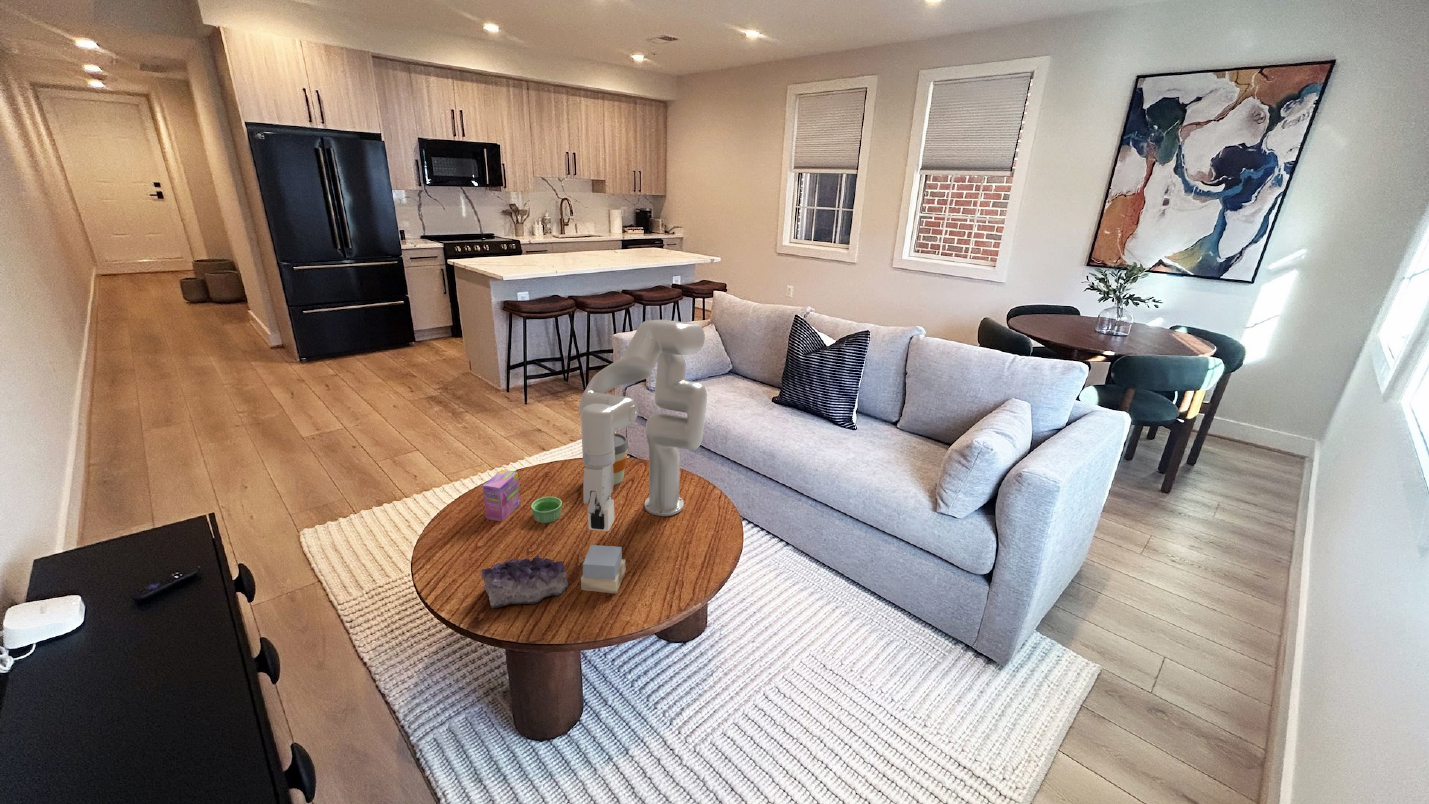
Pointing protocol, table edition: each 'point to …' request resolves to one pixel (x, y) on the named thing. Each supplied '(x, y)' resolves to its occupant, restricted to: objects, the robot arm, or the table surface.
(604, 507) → the white block
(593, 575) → the tower top
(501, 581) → the geode
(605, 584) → the tower base
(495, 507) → the box
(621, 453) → the reusable coffee cup
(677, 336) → the robot arm
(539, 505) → the ramekin
